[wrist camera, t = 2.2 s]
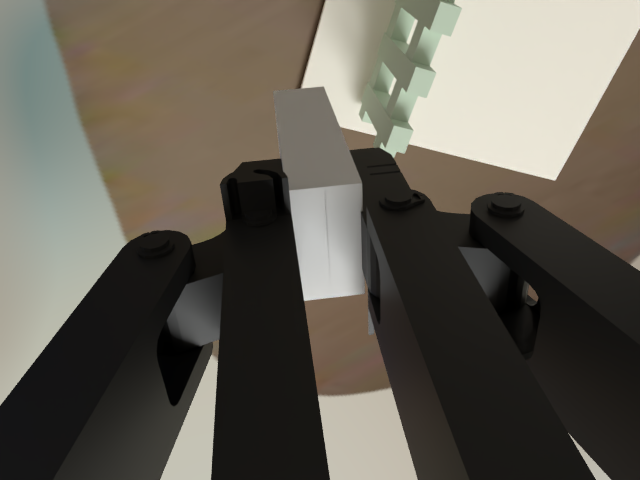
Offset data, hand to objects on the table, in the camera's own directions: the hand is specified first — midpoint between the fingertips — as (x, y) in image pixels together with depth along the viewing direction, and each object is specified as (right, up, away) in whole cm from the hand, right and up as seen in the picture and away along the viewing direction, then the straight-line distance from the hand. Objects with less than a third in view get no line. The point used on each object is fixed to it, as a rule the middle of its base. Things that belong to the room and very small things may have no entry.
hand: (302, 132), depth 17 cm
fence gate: (+5, +9, +13) cm, 17 cm away
